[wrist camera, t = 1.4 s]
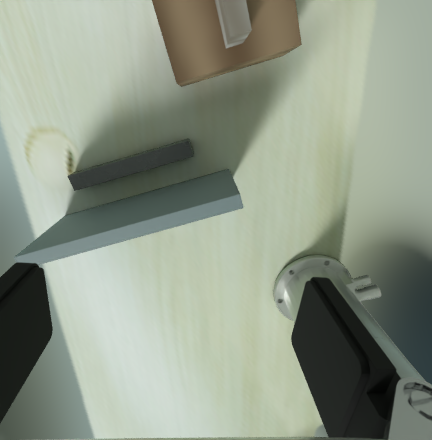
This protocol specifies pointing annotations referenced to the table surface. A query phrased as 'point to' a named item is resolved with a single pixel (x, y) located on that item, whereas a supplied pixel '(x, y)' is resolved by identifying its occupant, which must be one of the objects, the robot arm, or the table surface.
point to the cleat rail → (131, 164)
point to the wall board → (135, 217)
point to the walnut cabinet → (225, 34)
